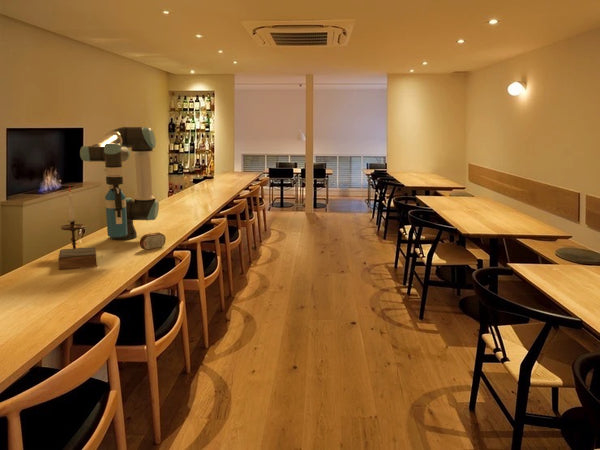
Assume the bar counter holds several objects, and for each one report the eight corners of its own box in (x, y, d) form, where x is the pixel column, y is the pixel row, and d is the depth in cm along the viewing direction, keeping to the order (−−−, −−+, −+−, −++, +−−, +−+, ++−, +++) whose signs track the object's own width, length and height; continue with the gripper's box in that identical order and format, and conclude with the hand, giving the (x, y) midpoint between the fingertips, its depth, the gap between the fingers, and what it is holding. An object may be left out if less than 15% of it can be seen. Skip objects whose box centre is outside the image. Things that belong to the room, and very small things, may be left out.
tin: (163, 245, 272) (162, 231, 271) (166, 246, 270) (166, 231, 269) (139, 250, 261) (138, 235, 259) (143, 251, 259) (142, 236, 257)
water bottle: (109, 237, 233) (106, 185, 227) (105, 234, 240) (102, 183, 235) (129, 235, 237) (127, 184, 232) (125, 232, 245) (122, 182, 240)
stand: (60, 261, 238) (59, 249, 237) (96, 258, 244) (95, 246, 243) (59, 270, 224) (58, 257, 223) (96, 266, 230) (96, 254, 229)
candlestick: (84, 255, 249) (79, 187, 242) (61, 256, 246) (55, 187, 239) (87, 250, 260) (82, 184, 253) (65, 251, 257) (59, 185, 250)
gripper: (101, 174, 240) (104, 218, 245) (110, 178, 222) (113, 226, 226) (117, 173, 244) (120, 217, 249) (127, 177, 226) (130, 225, 230)
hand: (117, 221), depth 237 cm, fingers closed on water bottle, 9 cm apart
